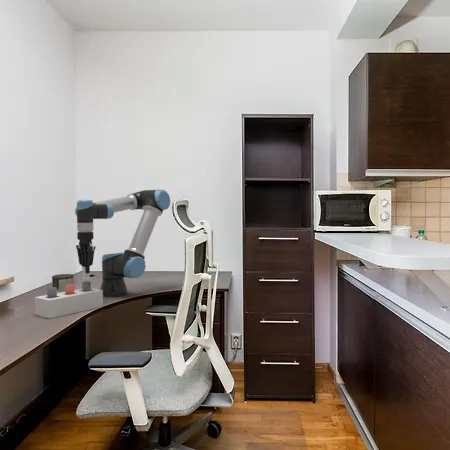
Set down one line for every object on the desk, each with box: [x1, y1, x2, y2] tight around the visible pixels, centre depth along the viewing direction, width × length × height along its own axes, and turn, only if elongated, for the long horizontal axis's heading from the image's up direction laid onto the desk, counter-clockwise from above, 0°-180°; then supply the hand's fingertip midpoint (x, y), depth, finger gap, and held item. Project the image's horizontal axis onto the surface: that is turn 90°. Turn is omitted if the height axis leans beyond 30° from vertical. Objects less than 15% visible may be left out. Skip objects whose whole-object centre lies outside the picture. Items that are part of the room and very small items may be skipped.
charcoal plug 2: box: [81, 281, 92, 292], centre depth 202 cm, size 4×4×7 cm
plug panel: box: [34, 287, 104, 320], centre depth 195 cm, size 28×12×8 cm, turn 143°
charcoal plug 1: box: [46, 287, 57, 298], centre depth 187 cm, size 4×4×7 cm
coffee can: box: [51, 273, 75, 293], centre depth 210 cm, size 10×10×14 cm
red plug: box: [65, 284, 75, 295], centre depth 194 cm, size 4×4×7 cm
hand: (86, 279), depth 201 cm, fingers closed
